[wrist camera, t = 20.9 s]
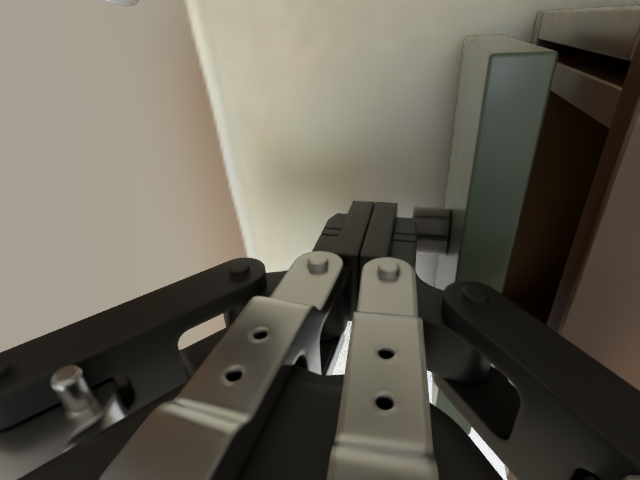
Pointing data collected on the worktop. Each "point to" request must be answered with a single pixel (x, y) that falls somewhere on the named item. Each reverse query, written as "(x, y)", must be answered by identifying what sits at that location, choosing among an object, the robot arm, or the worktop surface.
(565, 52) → the cabinet
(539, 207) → the drawer
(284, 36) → the worktop surface
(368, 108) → the worktop surface
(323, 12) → the worktop surface
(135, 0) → the knife
